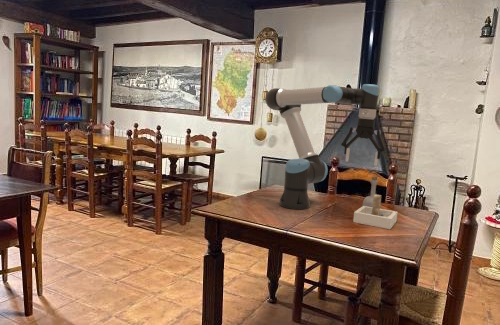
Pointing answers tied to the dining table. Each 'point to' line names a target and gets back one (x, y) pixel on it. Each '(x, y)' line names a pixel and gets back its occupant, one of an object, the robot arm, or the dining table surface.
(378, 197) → the tapered beige beam
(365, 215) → the white square tray
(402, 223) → the dining table surface
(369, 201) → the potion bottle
